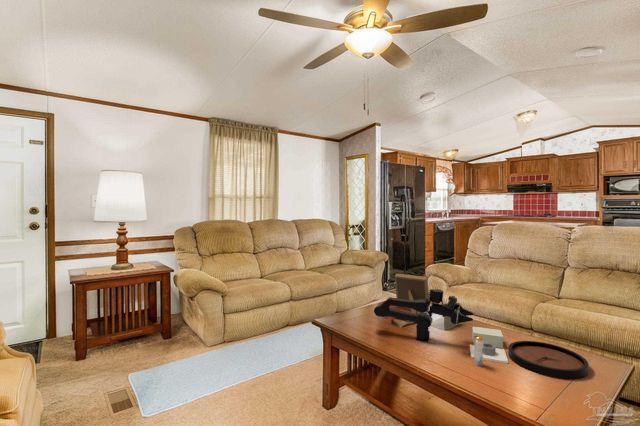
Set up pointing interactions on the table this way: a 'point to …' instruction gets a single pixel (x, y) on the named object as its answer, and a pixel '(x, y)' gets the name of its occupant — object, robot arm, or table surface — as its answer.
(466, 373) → the table surface
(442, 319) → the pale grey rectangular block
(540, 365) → the wall clock
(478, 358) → the gold topped patterned cylinder
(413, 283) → the tall grey box
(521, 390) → the table surface
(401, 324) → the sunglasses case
